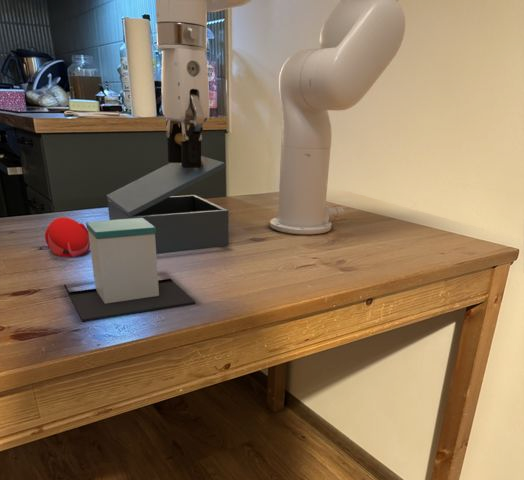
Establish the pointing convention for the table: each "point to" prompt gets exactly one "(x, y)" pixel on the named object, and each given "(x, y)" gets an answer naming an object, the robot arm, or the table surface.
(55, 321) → the table surface
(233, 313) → the table surface
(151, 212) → the chest
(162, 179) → the lid
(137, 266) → the container
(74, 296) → the mat
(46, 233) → the cap
